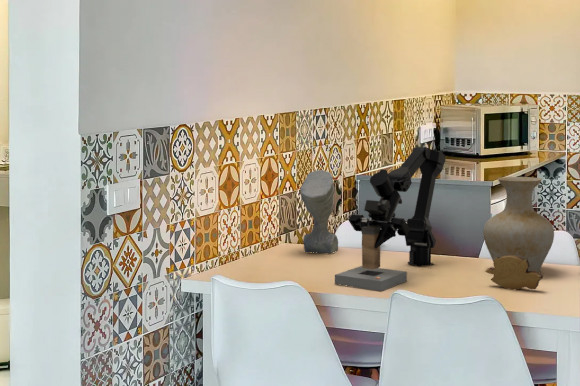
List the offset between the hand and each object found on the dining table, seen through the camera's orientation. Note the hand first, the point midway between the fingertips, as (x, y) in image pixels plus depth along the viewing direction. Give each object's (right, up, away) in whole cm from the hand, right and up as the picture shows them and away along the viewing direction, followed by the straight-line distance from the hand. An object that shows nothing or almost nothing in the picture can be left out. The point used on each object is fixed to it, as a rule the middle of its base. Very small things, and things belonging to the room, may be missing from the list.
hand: (368, 246), depth 253 cm
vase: (+49, -9, +17) cm, 53 cm away
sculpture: (-13, -6, +52) cm, 54 cm away
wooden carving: (+42, -12, -7) cm, 44 cm away
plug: (+1, -6, +2) cm, 7 cm away
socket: (+1, -11, +2) cm, 11 cm away
